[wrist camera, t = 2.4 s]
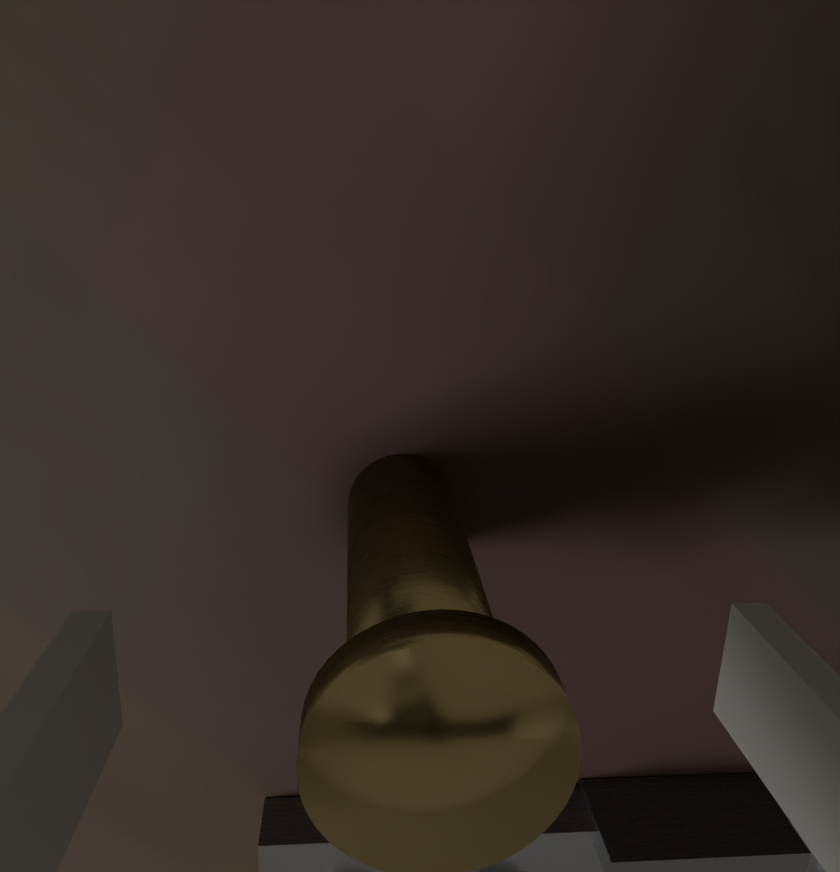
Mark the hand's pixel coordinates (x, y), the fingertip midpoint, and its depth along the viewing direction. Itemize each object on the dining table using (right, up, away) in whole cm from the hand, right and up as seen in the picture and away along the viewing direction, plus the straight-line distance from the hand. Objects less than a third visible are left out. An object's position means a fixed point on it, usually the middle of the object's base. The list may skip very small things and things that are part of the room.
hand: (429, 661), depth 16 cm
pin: (-1, +3, +7) cm, 8 cm away
